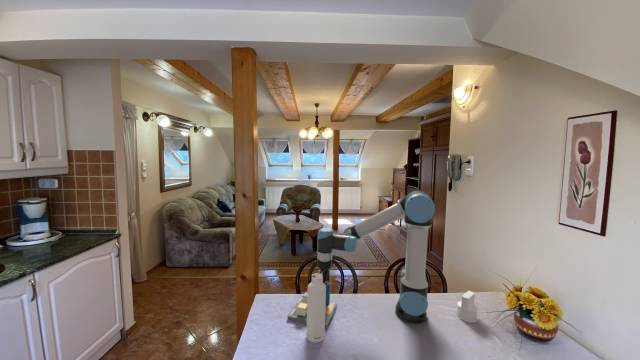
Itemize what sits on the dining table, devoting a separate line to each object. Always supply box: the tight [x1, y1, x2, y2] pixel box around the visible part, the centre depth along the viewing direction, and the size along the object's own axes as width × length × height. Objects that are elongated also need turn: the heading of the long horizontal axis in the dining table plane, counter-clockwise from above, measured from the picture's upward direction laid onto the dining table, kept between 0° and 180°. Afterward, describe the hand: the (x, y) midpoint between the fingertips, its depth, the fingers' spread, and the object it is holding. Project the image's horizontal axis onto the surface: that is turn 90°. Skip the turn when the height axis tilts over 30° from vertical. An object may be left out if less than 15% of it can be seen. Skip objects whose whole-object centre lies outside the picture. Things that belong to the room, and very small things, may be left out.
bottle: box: [305, 272, 326, 343], centre depth 114 cm, size 8×8×28 cm
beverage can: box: [325, 281, 331, 308], centre depth 133 cm, size 6×6×12 cm
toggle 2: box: [302, 291, 308, 304], centre depth 137 cm, size 4×4×4 cm
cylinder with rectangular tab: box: [456, 290, 479, 323], centre depth 132 cm, size 9×9×12 cm
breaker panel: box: [287, 296, 338, 330], centre depth 131 cm, size 20×18×2 cm
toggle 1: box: [297, 302, 307, 316], centre depth 127 cm, size 4×4×4 cm
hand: (323, 302), depth 134 cm, fingers closed on beverage can, 6 cm apart
